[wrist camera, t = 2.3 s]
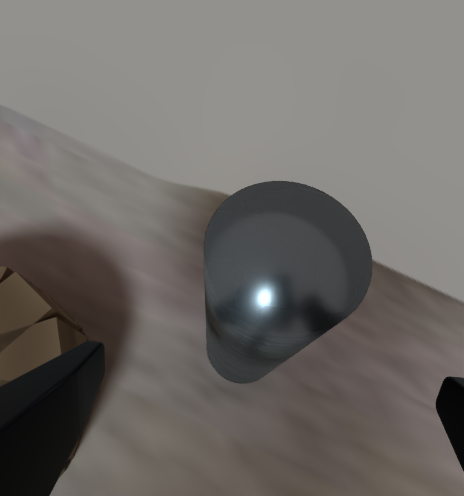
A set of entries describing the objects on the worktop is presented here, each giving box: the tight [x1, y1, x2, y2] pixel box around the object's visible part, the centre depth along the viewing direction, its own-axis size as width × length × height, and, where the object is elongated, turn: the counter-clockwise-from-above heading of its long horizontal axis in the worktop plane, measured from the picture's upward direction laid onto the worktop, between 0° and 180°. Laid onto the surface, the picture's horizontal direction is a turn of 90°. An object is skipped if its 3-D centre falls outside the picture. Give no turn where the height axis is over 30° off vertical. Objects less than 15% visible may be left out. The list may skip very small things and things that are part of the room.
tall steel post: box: [204, 181, 372, 384], centre depth 13 cm, size 4×4×12 cm
